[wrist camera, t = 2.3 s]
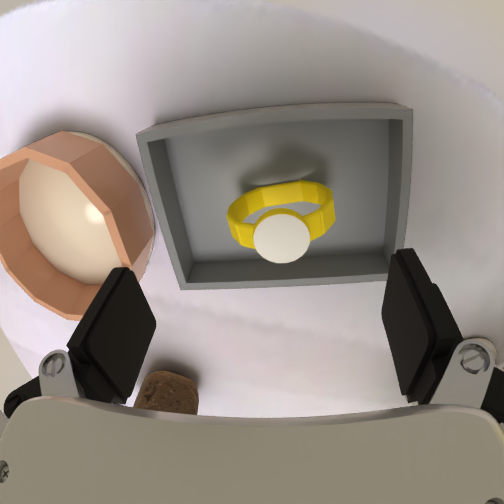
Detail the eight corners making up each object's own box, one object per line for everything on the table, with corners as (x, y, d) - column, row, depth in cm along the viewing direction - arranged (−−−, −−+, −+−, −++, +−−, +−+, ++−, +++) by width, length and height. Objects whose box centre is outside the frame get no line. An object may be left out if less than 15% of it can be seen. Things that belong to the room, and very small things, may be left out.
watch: (322, 164, 18) (344, 202, 13) (327, 204, 20) (348, 252, 15) (228, 182, 19) (216, 225, 14) (239, 220, 21) (231, 273, 16)
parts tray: (396, 103, 15) (412, 109, 13) (388, 257, 21) (398, 279, 19) (153, 125, 18) (135, 134, 16) (190, 267, 24) (180, 290, 22)
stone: (154, 349, 31) (94, 522, 14) (214, 373, 32) (177, 548, 15) (138, 391, 37) (95, 518, 20) (186, 409, 38) (154, 538, 21)
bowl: (126, 108, 17) (85, 122, 13) (176, 284, 25) (157, 326, 21) (2, 156, 20) (-34, 178, 16) (55, 285, 27) (32, 315, 23)
